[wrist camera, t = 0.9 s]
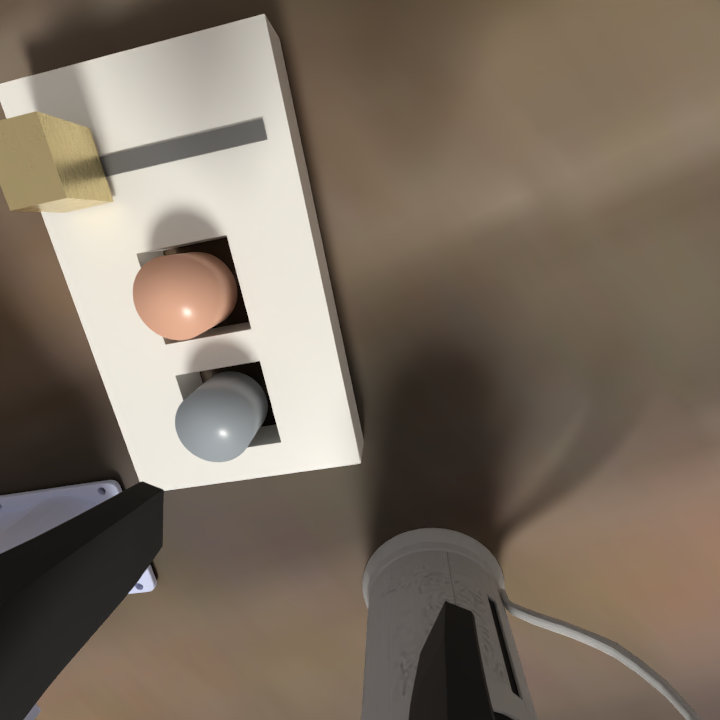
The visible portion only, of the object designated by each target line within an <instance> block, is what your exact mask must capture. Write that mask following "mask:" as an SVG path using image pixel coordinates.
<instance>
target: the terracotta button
mask: <svg viewBox="0 0 720 720" xmlns="http://www.w3.org/2000/svg"><path fill="white" fill-rule="evenodd" d="M133 301H134V305H135V308H136V311H137V313H138V315H139V316H140V318H141V319H142V321H143V322H144V323H145V324H146V326H147V327H149V328H150V329H151V330H152V331H153V332H155V333H156V334H158V335H160V336H162V337H165V338H168V339H172V340H187V339H191V338H194V337H196V336H198V335H200V334H201V333H203V332H205V331H207V330H208V329H210V328H212V327H214V326H216V325H217V324H219V323H221V322H222V321H224V320H225V319H226V318H228V317H229V315H230V314H231V313H232V311H233V309H234V307H235V305H236V301H237V285H236V281H235V278H234V276H233V274H232V272H231V271H230V269H229V268H228V267H227V266H226V264H225V263H223V262H222V261H221V260H220V259H218V258H217V257H215V256H213V255H211V254H208V253H205V252H189V253H181V254H174V255H166V256H160V257H156V258H154V259H152V260H150V261H148V262H147V263H146V264H145V265H143V266H142V268H141V269H140V270H139V272H138V273H137V275H136V277H135V280H134V284H133Z"/></svg>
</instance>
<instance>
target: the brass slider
mask: <svg viewBox="0 0 720 720" xmlns="http://www.w3.org/2000/svg"><path fill="white" fill-rule="evenodd" d="M0 185H1V188H2V190H3V193H4V195H5V198H6V201H7V203H8V206H9V208H10V211H29V212H55V213H66V212H71V211H75V210H80V209H84V208H88V207H93V206H97V205H102V204H106V203H111V202H114V201H113V198H112V195H111V192H110V189H109V186H108V183H107V180H106V177H105V174H104V170H103V167H102V164H101V161H100V158H99V155H98V152H97V149H96V146H95V143H94V140H93V136H92V133H91V130H90V128H88V127H84V126H81V125H78V124H75V123H72V122H69V121H66V120H63V119H60V118H56V117H53V116H50V115H47V114H44V113H41V112H38V111H35V112H31V113H27V114H23V115H19V116H16V117H12V118H8V119H4V120H0Z"/></svg>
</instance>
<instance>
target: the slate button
mask: <svg viewBox="0 0 720 720" xmlns="http://www.w3.org/2000/svg"><path fill="white" fill-rule="evenodd" d="M267 412H268V402H267V398H266V395H265V393H264V391H263V389H262V388H261V386H260V385H259V384H258V383H257V382H256V381H255V380H254V379H252V378H251V377H249V376H248V375H245V374H243V373H240V372H235V371H225V372H220V373H218V374H215V375H214V376H212V377H211V378H209V379H208V380H207V381H206V382H205V383H203V384H202V385H201V386H200V387H199V388H197V389H196V390H195V391H194V392H193V393H191V394H190V395H189V396H188V397H187V398H185V399H184V400H183V402H182V403H181V404H180V406H179V407H178V409H177V412H176V416H175V428H176V432H177V435H178V437H179V439H180V441H181V443H182V444H183V445H184V447H185V448H186V449H187V450H188V451H190V452H191V453H192V454H193V455H195V456H197V457H199V458H201V459H203V460H206V461H210V462H226V461H230V460H233V459H235V458H237V457H238V456H240V455H241V454H242V453H243V452H244V451H245V450H246V448H247V447H248V445H249V444H250V442H251V441H252V439H253V438H254V436H255V435H256V433H257V432H258V430H259V429H260V427H261V425H262V424H263V422H264V421H265V419H266V416H267Z"/></svg>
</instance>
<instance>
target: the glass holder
mask: <svg viewBox="0 0 720 720" xmlns="http://www.w3.org/2000/svg"><path fill="white" fill-rule="evenodd" d="M362 589H363V595H364V600H365V602H366V605H367V608H368V619H367V636H366V652H365V668H364V684H363V700H362V716H361V720H409V711H410V702H411V697H412V692H413V687H414V681H415V676H416V671H417V666H418V661H419V656H420V652H421V650H422V648H423V646H424V644H425V642H426V640H427V638H428V636H429V634H430V631H431V629H432V627H433V625H434V623H435V621H436V619H437V617H438V615H439V613H440V611H441V609H442V606H443V604H444V602H445V601H447V602H449V603H452V604H454V605H457V606H459V607H462V608H464V609H467V610H470V611H472V613H473V614H474V616H475V623H476V629H477V635H478V641H479V647H480V652H481V658H482V663H483V668H484V672H485V677H486V682H487V687H488V691H489V695H490V700H491V704H492V708H493V712H494V716H495V720H538V719H537V716H536V713H535V709H534V706H533V702H532V699H531V696H530V692H529V689H528V685H527V682H526V679H525V675H524V672H523V668H522V665H521V662H520V658H519V655H518V651H517V648H516V645H515V641H514V638H513V635H512V631H511V628H510V624H509V621H508V618H507V614H506V611H505V607H506V609H507V610H508V611H509V612H510V613H511V614H512V615H514V616H516V617H518V618H520V619H522V620H525V621H527V622H529V623H531V624H534V625H537V626H539V627H542V628H545V629H548V630H550V631H553V632H556V633H559V634H562V635H565V636H568V637H570V638H573V639H575V640H578V641H580V642H583V643H585V644H587V645H590V646H592V647H594V648H596V649H599V650H601V651H603V652H605V653H606V654H608V655H610V656H612V657H614V658H616V659H618V660H619V661H621V662H622V663H624V664H625V665H626V666H628V667H629V668H631V669H632V670H634V671H635V672H636V673H638V674H639V675H640V676H642V677H643V678H644V679H645V680H646V681H648V682H649V683H650V684H651V685H652V686H653V687H655V688H656V689H657V690H658V691H659V692H661V693H662V694H663V695H664V696H665V697H666V698H667V699H668V700H669V701H670V702H671V703H672V704H673V705H674V706H675V708H676V709H677V710H678V711H679V712H680V713H681V714H682V715H683V716H684V717H685V719H686V720H702V719H701V718H700V716H699V715H698V714H697V713H696V712H695V711H694V710H693V709H692V708H691V707H690V705H689V704H688V703H687V702H686V701H685V700H684V699H683V698H682V697H681V696H680V695H679V694H678V693H677V691H676V690H675V689H674V688H673V687H672V686H671V685H670V684H669V683H668V682H667V681H666V680H665V679H663V678H662V677H661V676H660V675H659V674H657V673H656V672H655V671H654V670H653V669H651V668H650V667H649V666H648V665H647V664H645V663H644V662H643V661H642V660H640V659H639V658H638V657H636V656H635V655H633V654H632V653H630V652H629V651H628V650H626V649H625V648H623V647H622V646H621V645H619V644H618V643H616V642H613V641H611V640H609V639H607V638H605V637H602V636H600V635H598V634H595V633H593V632H590V631H587V630H585V629H582V628H579V627H577V626H574V625H572V624H569V623H567V622H564V621H561V620H558V619H555V618H552V617H549V616H546V615H543V614H540V613H537V612H534V611H532V610H529V609H526V608H524V607H521V606H519V605H517V604H514V603H512V602H511V601H510V600H509V599H508V596H507V594H506V592H505V587H504V577H503V574H502V570H501V567H500V566H499V564H498V562H497V560H496V558H495V557H494V556H493V555H492V553H491V552H490V551H489V550H488V549H487V548H486V547H485V546H484V545H482V544H481V543H480V542H478V541H477V540H475V539H473V538H472V537H470V536H468V535H465V534H463V533H460V532H458V531H453V530H449V529H443V528H421V529H416V530H411V531H407V532H404V533H402V534H399V535H397V536H395V537H393V538H391V539H390V540H388V541H386V542H385V543H384V544H383V545H381V546H380V547H379V548H378V549H377V550H376V551H375V552H374V554H373V555H372V556H371V557H370V559H369V561H368V563H367V565H366V567H365V571H364V574H363V582H362ZM503 603H504V604H503ZM504 606H505V607H504Z"/></svg>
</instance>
